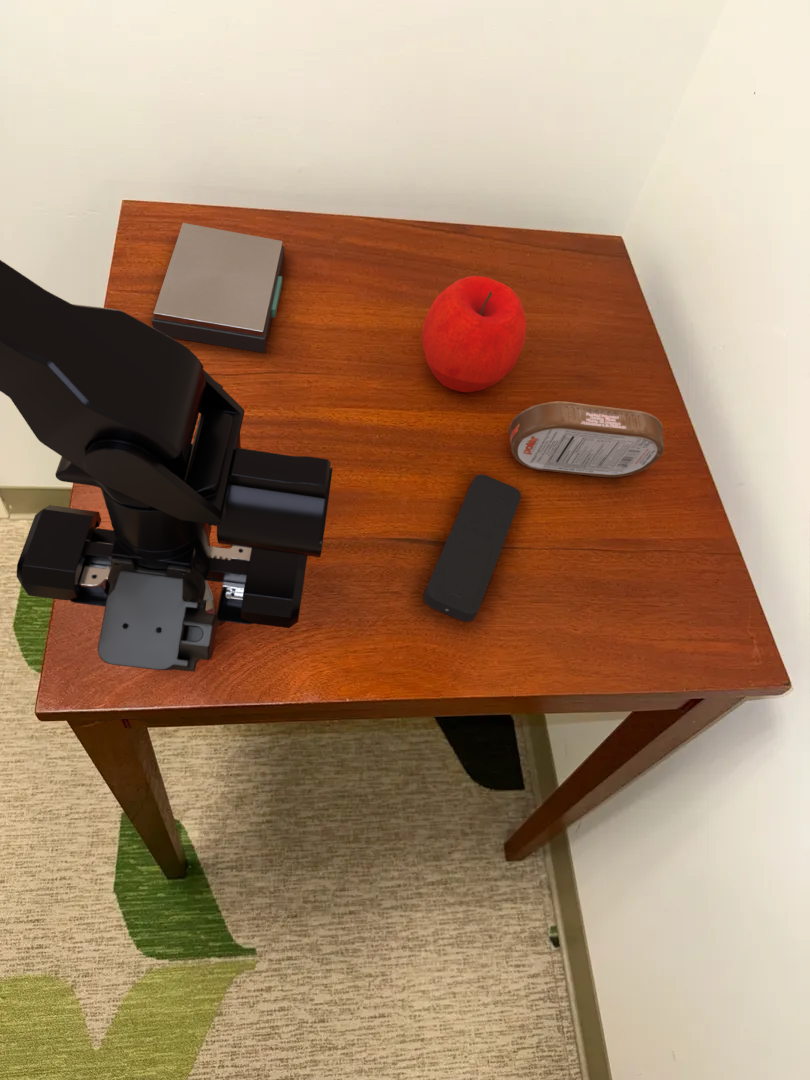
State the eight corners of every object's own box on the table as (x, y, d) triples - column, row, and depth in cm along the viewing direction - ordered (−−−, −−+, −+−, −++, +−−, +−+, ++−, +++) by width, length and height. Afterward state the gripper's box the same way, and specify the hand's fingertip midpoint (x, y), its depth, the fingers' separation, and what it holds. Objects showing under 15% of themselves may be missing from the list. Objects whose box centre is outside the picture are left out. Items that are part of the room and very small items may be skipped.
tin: (639, 461, 79) (677, 409, 72) (643, 487, 77) (684, 436, 70) (497, 446, 77) (523, 391, 69) (499, 472, 75) (526, 418, 68)
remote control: (472, 480, 75) (419, 603, 66) (477, 469, 73) (423, 593, 65) (518, 500, 74) (472, 625, 66) (524, 489, 73) (477, 616, 65)
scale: (153, 335, 76) (150, 314, 74) (183, 242, 83) (181, 220, 81) (268, 354, 78) (269, 334, 75) (287, 261, 85) (288, 240, 82)
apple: (421, 419, 77) (447, 331, 66) (402, 346, 81) (424, 252, 71) (513, 415, 79) (553, 329, 69) (490, 344, 84) (524, 253, 73)
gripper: (-48, 610, 42) (24, 700, 55) (292, 651, 44) (283, 728, 57) (17, 448, 48) (68, 565, 61) (316, 492, 50) (302, 595, 63)
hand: (179, 615), depth 60 cm, fingers closed on small box, 6 cm apart
